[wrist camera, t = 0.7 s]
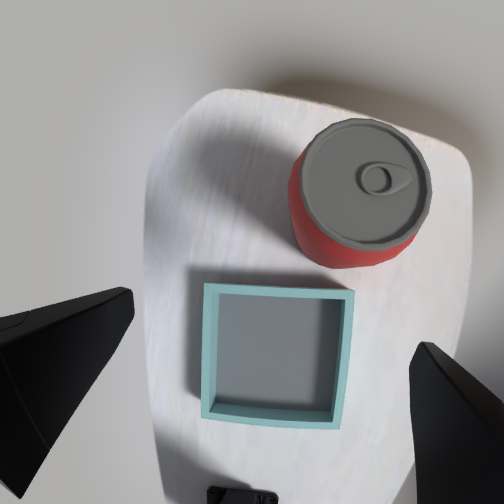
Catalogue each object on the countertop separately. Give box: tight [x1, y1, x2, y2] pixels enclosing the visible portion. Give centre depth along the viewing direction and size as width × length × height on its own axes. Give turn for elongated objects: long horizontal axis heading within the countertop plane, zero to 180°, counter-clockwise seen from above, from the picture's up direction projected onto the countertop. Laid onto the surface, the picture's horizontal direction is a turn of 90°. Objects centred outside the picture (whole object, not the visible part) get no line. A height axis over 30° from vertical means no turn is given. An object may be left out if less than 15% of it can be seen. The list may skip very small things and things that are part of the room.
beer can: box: [288, 118, 432, 269], centre depth 18 cm, size 7×7×12 cm
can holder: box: [201, 282, 355, 429], centre depth 22 cm, size 10×10×3 cm
